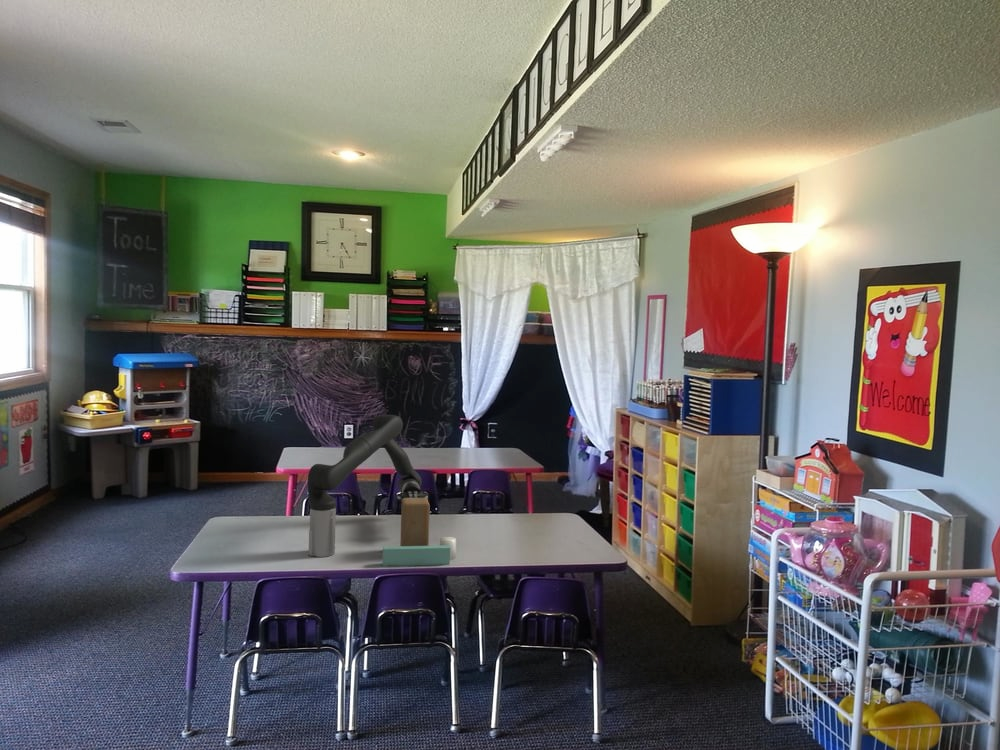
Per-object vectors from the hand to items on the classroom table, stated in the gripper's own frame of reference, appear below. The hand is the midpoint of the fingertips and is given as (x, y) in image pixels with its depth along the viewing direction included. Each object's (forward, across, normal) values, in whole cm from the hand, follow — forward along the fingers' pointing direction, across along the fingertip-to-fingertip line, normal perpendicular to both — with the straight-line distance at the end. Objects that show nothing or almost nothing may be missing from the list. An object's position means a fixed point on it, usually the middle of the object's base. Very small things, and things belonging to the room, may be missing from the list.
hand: (413, 502), depth 274 cm
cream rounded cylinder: (+18, +12, +16) cm, 27 cm away
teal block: (+24, 0, +16) cm, 29 cm away
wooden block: (+11, 0, +16) cm, 20 cm away
